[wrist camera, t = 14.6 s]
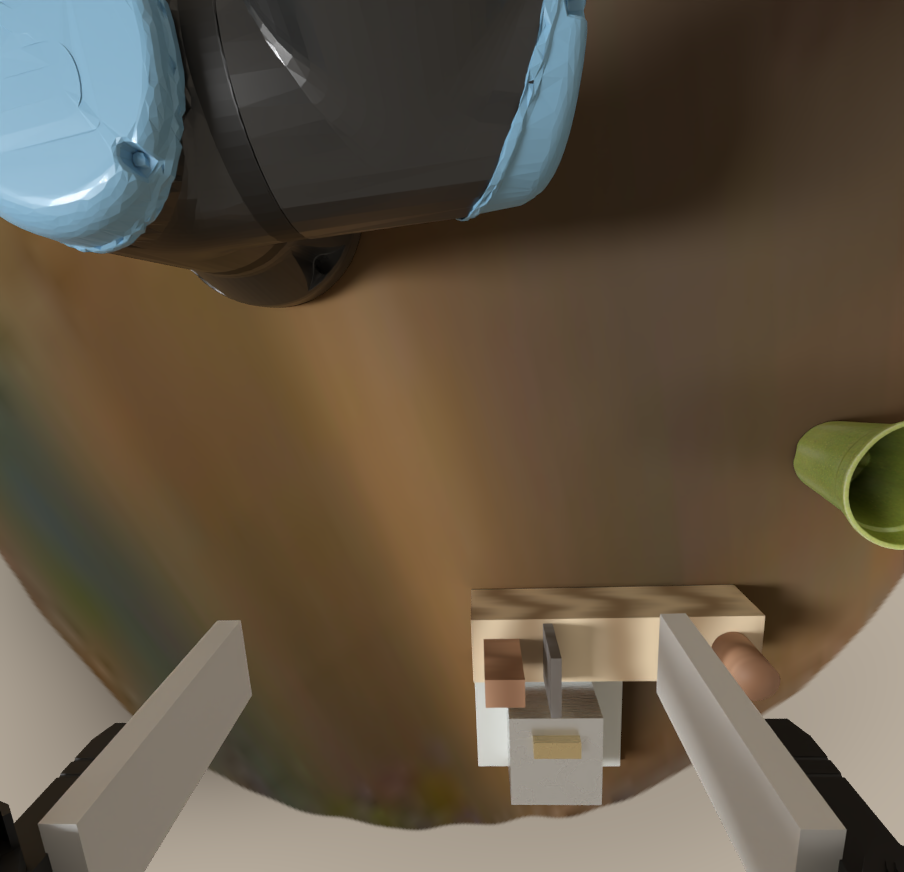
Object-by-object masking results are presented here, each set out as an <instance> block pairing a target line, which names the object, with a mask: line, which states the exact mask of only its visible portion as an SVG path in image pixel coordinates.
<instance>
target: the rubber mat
mask: <svg viewBox="0 0 904 872" xmlns="http://www.w3.org/2000/svg"><path fill="white" fill-rule="evenodd" d="M622 682H623V681H592V685H593V688H594V691H595V694H596V697H597V700H598V703H599V706H600V709H601V712H602V715H603V764H602V766H620V748H621V715H622ZM475 696H476V720H477V744H478V766H508V748H507V712H506V708H486V704H485V682H475Z"/></svg>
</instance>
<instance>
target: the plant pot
mask: <svg viewBox="0 0 904 872" xmlns="http://www.w3.org/2000/svg"><path fill="white" fill-rule="evenodd" d="M793 464H794V469H795V472H796V474H797V476H798V477H799V479H800V480H801V481H802V482H803V483H804V484H806V485H807V486H808V487H810V488H811V489H813V490H814V491H815V492H817V493H818V494H820V495H821V496H822V497H824V498H825V499H826V500H828V501H829V502H831V503H832V504H833V505H835V506H836V507H837V508H839V509H840V510H841V511H842V512H843V514H844V515H845V516H846V518H847V519H848V521H849V523H850V524H851V525H852V527H853V528H854V529H855V530H856V531H857V532H858V533H859V534H860V535H862V536H863V537H864V538H866V539H867V540H869V541H871V542H873V543H875V544H877V545H879V546H882V547H886V548H890V549H897V550H904V421H901V422H898V423H894V424H882V423H862V422H847V421H831V422H826V423H822V424H820V425H817V426H815V427H813V428H812V429H810V430H809V431H808V432H807V433H806V434H805V435H804V436H803V437H802V438H801V439H800V441H799V442H798V444H797V450H796V455H795V459H794V462H793Z"/></svg>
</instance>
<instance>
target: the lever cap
mask: <svg viewBox="0 0 904 872" xmlns="http://www.w3.org/2000/svg"><path fill="white" fill-rule="evenodd" d="M506 712H507V748H508V767H509V780H510V793H511V805H602V764H603V715H602V712H601V709H600V706H599V703H598V700H597V697H596V694H595V691H594V688H593V685H592V682H562V718H551V715H550V710H549V705H548V700H547V694H546V689H545V684H544V682H525V708H506Z"/></svg>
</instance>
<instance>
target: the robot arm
mask: <svg viewBox="0 0 904 872" xmlns="http://www.w3.org/2000/svg"><path fill="white" fill-rule="evenodd" d="M585 4H586V0H0V217H2V218H4V219H5V220H7V221H8V222H10V223H12V224H14V225H16V226H18V227H20V228H22V229H24V230H26V231H29V232H32V233H34V234H37V235H40V236H43V237H47V238H50V239H53V240H56V241H59V242H60V243H64V244H65V245H67V246H69V247H72V248H75V249H78V250H79V251H83V252H95V253H111V254H116V255H120V256H125V257H130V258H135V259H140V260H145V261H150V262H155V263H160V264H165V265H170V266H175V267H180V268H185V269H190V270H192V271H193V272H194V273H195V274H196V275H197V276H198V277H199V278H200V279H201V280H202V281H203V282H204V283H206V284H207V285H208V286H209V287H211V288H212V289H214V290H215V291H217V292H219V293H220V294H222V295H224V296H226V297H228V298H231V299H233V300H236V301H238V302H241V303H245V304H249V305H254V306H262V307H273V308H281V307H290V306H295V305H299V304H302V303H305V302H308V301H310V300H312V299H314V298H316V297H318V296H320V295H321V294H323V293H324V292H325V291H327V290H328V289H329V288H330V287H332V286H333V285H334V284H335V283H336V282H337V281H338V280H339V278H340V277H341V276H342V275H343V273H344V272H345V271H346V269H347V268H348V266H349V264H350V262H351V260H352V258H353V256H354V254H355V251H356V249H357V246H358V243H359V239H360V234H361V232H365V231H372V230H379V229H386V228H393V227H400V226H407V225H414V224H421V223H428V222H435V221H442V220H449V219H456V220H458V221H468V220H469V219H471V218H475V217H476V216H478V215H479V214H481V213H486V212H491V211H496V210H501V209H506V208H511V207H516V206H521V205H523V204H525V203H527V202H528V201H530V200H531V199H533V198H535V197H536V195H538V194H539V193H541V192H542V191H543V190H544V189H545V188H546V186H547V185H548V184H549V182H550V180H551V179H552V177H553V176H554V174H555V172H556V170H557V168H558V166H559V163H560V161H561V158H562V156H563V153H564V150H565V147H566V144H567V141H568V137H569V134H570V130H571V126H572V122H573V118H574V114H575V109H576V104H577V99H578V94H579V88H580V82H581V76H582V70H583V63H584V56H585V48H586V38H587V21H586V20H585V16H584V7H585ZM657 694H658V696H659V698H660V700H661V702H662V704H663V706H664V708H665V710H666V712H667V714H668V716H669V718H670V720H671V722H672V724H673V726H674V728H675V730H676V732H677V734H678V736H679V738H680V740H681V742H682V744H683V746H684V748H685V750H686V752H687V754H688V756H689V758H690V760H691V762H692V764H693V766H694V768H695V770H696V772H697V774H698V776H699V778H700V780H701V782H702V784H703V786H704V788H705V790H706V792H707V794H708V796H709V798H710V800H711V802H712V804H713V806H714V808H715V810H716V812H717V814H718V816H719V818H720V820H721V822H722V824H723V826H724V828H725V830H726V832H727V834H728V836H729V838H730V840H731V842H732V844H733V846H734V848H735V850H736V852H737V854H738V856H739V858H740V860H741V862H742V864H743V866H744V868H745V870H746V872H904V846H902V845H900V844H899V843H898V842H897V840H896V839H895V838H894V837H893V836H892V834H891V833H890V832H889V831H888V830H887V828H886V827H885V826H884V825H883V823H882V822H881V821H880V820H879V819H878V817H877V816H876V815H875V814H874V813H873V811H872V810H871V809H870V808H869V807H868V805H867V804H866V803H865V802H864V800H863V799H862V798H861V797H860V796H859V794H858V793H857V792H856V791H855V790H854V788H853V787H852V786H851V785H850V784H849V782H848V781H847V780H846V779H845V778H843V777H842V776H841V773H840V771H839V770H838V769H837V768H836V767H835V765H834V764H833V763H832V762H831V761H830V760H828V758H827V756H826V754H825V753H824V752H823V751H822V750H821V748H820V747H819V746H818V745H817V743H816V742H815V741H814V740H813V739H812V737H811V736H810V735H808V734H807V733H805V732H804V731H803V730H802V729H800V728H799V727H798V726H796V725H795V724H793V723H792V722H791V721H790V720H788V719H764V718H763V717H762V715H761V714H760V712H759V711H758V710H757V708H756V707H755V706H754V704H753V703H752V702H751V700H750V699H749V698H748V696H747V695H746V694H745V692H744V691H743V690H742V688H741V687H740V686H739V684H738V683H737V682H736V680H735V679H734V677H733V676H732V675H731V673H730V672H729V671H728V669H727V668H726V667H725V665H724V664H723V663H722V661H721V660H720V659H719V657H718V656H717V655H716V653H715V652H714V651H713V649H712V648H711V647H710V645H709V644H708V642H707V641H706V640H705V638H704V637H703V636H702V634H701V633H700V632H699V630H698V629H697V628H696V626H695V625H694V624H693V622H692V621H691V620H690V618H689V617H688V616H687V614H686V613H676V614H660V627H659V649H658V670H657ZM251 696H252V693H251V686H250V679H249V673H248V666H247V660H246V653H245V646H244V640H243V633H242V627H241V620H233V621H217V622H216V623H215V624H214V625H213V626H212V627H211V628H210V630H209V631H208V632H207V633H206V634H205V635H204V636H203V637H202V639H201V640H200V641H199V642H198V643H197V644H196V645H195V646H194V648H193V649H192V650H191V651H190V652H189V653H188V654H187V656H186V657H185V658H184V659H183V660H182V661H181V662H180V663H179V665H178V666H177V667H176V668H175V669H174V670H173V671H172V672H171V674H170V675H169V676H168V677H167V678H166V679H165V680H164V682H163V683H162V684H161V685H160V686H159V687H158V688H157V689H156V691H155V692H154V693H153V694H152V695H151V696H150V697H149V699H148V700H147V701H146V702H145V703H144V704H143V705H142V706H141V708H140V709H139V710H138V711H137V712H136V713H135V714H134V715H133V717H132V718H131V719H130V720H129V721H128V722H127V723H115V724H113V725H112V726H111V727H109V728H108V729H106V730H105V731H104V732H102V733H101V734H99V735H98V736H96V737H95V738H94V739H92V740H91V742H90V743H89V744H88V745H87V746H86V747H85V748H84V749H83V750H82V751H81V752H80V753H79V754H78V756H77V757H76V758H75V761H74V762H71V763H70V764H69V765H68V766H67V767H66V768H65V770H63V772H62V773H61V775H60V777H59V778H56V779H55V780H54V781H53V782H52V783H51V784H50V785H49V787H48V788H47V789H46V790H45V791H44V792H43V793H42V794H41V795H40V797H38V798H37V799H36V800H35V802H34V803H33V804H32V805H31V806H30V807H29V808H28V809H27V810H26V811H25V812H24V813H23V814H22V816H21V817H20V818H19V819H18V820H17V821H16V822H15V823H13V819H12V815H11V811H10V808H9V805H8V804H6V803H3V802H1V801H0V872H144V871H145V870H146V868H147V866H148V865H149V863H150V862H151V860H152V858H153V857H154V855H155V853H156V851H157V850H158V848H159V847H160V845H161V843H162V842H163V840H164V838H165V837H166V835H167V834H168V832H169V830H170V829H171V827H172V825H173V824H174V822H175V820H176V819H177V817H178V816H179V814H180V812H181V811H182V809H183V807H184V806H185V804H186V803H187V801H188V799H189V797H190V796H191V794H192V793H193V791H194V789H195V788H196V786H197V784H198V783H199V781H200V779H201V778H202V776H203V775H204V773H205V771H206V770H207V768H208V766H209V765H210V763H211V761H212V760H213V758H214V757H215V755H216V753H217V752H218V750H219V748H220V747H221V745H222V743H223V742H224V740H225V739H226V737H227V735H228V734H229V732H230V730H231V729H232V727H233V725H234V724H235V722H236V720H237V719H238V717H239V716H240V714H241V712H242V711H243V709H244V707H245V706H246V704H247V702H248V701H249V699H250V698H251Z"/></svg>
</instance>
